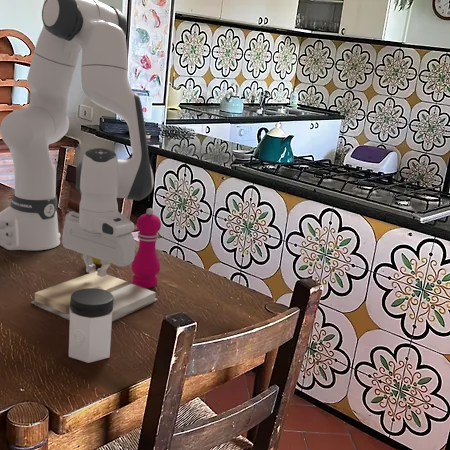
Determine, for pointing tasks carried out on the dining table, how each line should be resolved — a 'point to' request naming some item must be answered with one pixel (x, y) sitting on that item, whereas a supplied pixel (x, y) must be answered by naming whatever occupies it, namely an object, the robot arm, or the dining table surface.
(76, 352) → the jar
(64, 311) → the birch plank
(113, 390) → the dining table surface
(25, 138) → the robot arm
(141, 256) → the pepper mill
